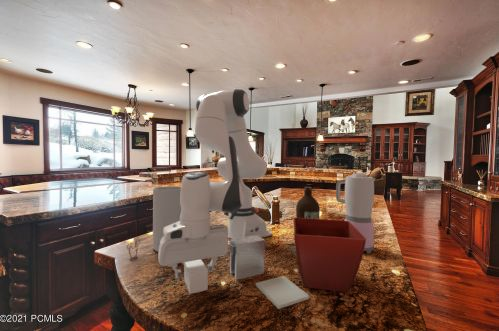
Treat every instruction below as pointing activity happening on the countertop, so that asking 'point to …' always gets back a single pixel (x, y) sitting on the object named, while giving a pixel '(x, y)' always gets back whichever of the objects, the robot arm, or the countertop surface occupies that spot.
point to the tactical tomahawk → (292, 248)
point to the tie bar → (232, 248)
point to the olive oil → (307, 206)
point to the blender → (359, 205)
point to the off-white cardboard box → (195, 276)
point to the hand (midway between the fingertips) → (194, 273)
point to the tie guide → (247, 257)
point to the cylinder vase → (164, 211)
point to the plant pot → (328, 253)
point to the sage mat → (282, 291)
